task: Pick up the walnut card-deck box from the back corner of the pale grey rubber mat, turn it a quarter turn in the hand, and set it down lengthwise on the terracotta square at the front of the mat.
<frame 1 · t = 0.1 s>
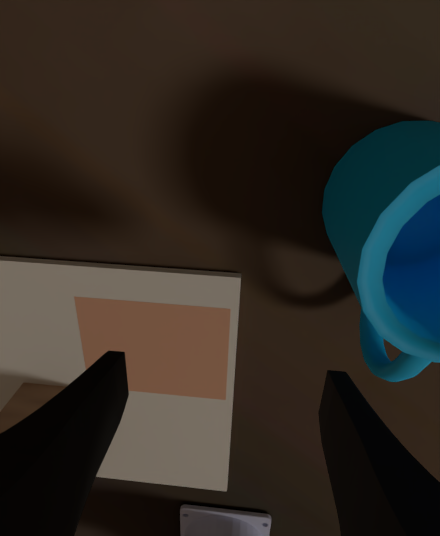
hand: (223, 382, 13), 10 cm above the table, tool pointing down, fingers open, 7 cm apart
card mat: (105, 384, 27), on the table
deck box: (64, 424, 29), point 1 cm above the table, touching card mat
mug: (386, 233, 21), on the table
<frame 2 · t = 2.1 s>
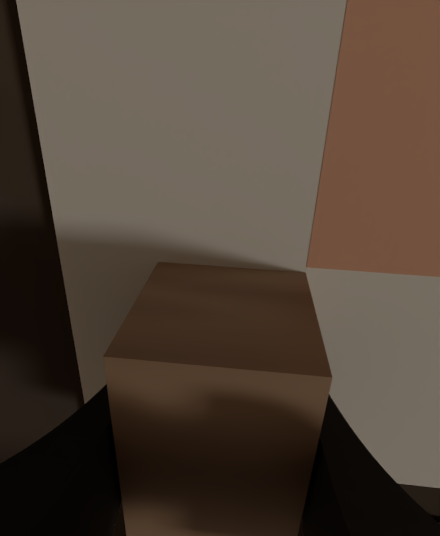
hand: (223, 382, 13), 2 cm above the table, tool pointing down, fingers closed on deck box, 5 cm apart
card mat: (332, 266, 13), on the table
deck box: (225, 360, 14), point 1 cm above the table, touching card mat, gripper
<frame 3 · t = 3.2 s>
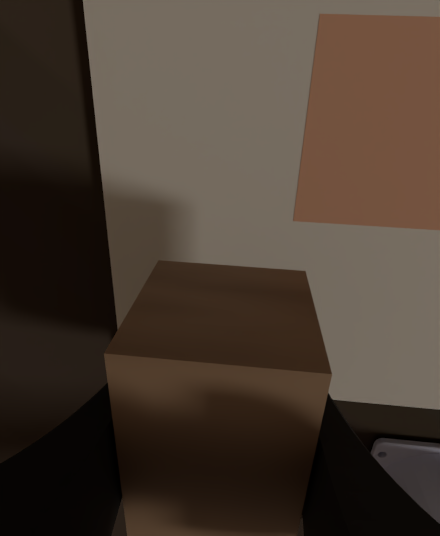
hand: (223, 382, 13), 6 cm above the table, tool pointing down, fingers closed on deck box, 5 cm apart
card mat: (313, 222, 17), on the table
deck box: (225, 358, 14), point 5 cm above the table, touching gripper
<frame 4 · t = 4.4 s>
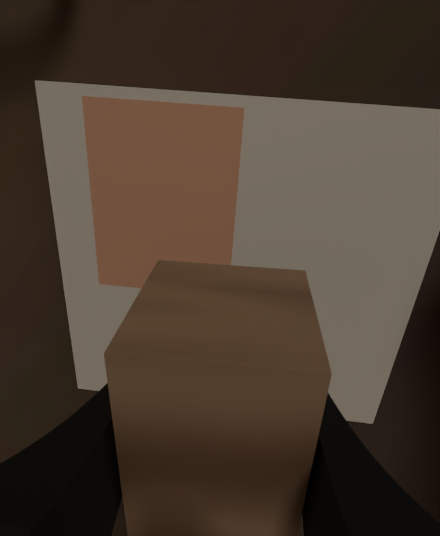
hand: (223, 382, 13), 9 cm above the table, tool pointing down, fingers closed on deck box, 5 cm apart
card mat: (233, 277, 21), on the table
deck box: (225, 358, 14), point 8 cm above the table, touching gripper
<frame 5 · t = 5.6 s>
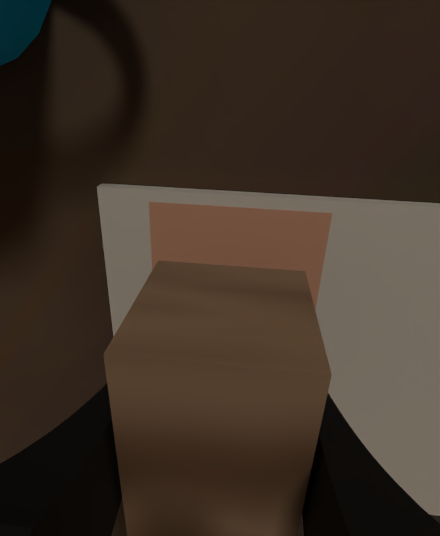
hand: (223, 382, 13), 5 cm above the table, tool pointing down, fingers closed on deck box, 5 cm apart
card mat: (305, 374, 20), on the table
deck box: (225, 358, 14), point 4 cm above the table, touching gripper
when the fingers open (3 cm above the table, at t = 6.6 s): deck box stays where it is, resting on card mat.
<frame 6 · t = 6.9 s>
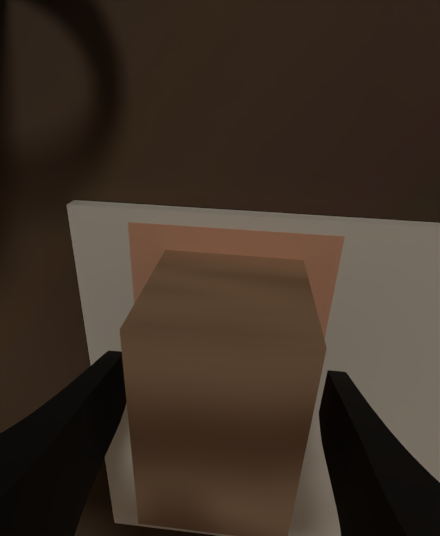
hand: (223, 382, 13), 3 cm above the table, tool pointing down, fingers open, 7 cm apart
card mat: (310, 413, 17), on the table
deck box: (228, 344, 15), point 1 cm above the table, touching card mat
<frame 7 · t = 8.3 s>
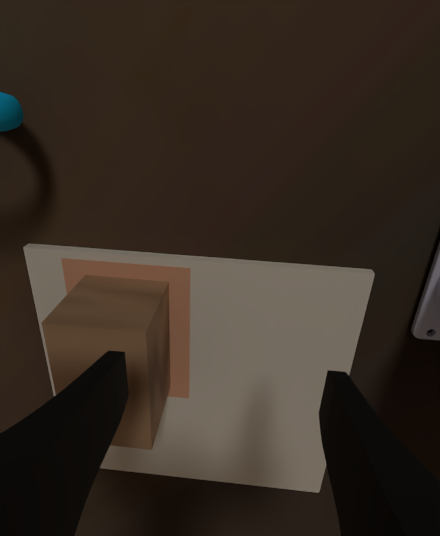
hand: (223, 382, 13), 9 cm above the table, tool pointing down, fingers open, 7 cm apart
card mat: (193, 381, 26), on the table
deck box: (130, 333, 24), point 1 cm above the table, touching card mat
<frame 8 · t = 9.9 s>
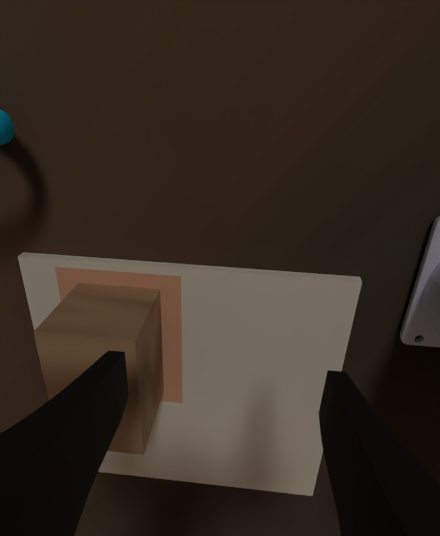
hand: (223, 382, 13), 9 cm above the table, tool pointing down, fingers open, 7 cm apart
card mat: (186, 386, 26), on the table
deck box: (124, 340, 24), point 1 cm above the table, touching card mat
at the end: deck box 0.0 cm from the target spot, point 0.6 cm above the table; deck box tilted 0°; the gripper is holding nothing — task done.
